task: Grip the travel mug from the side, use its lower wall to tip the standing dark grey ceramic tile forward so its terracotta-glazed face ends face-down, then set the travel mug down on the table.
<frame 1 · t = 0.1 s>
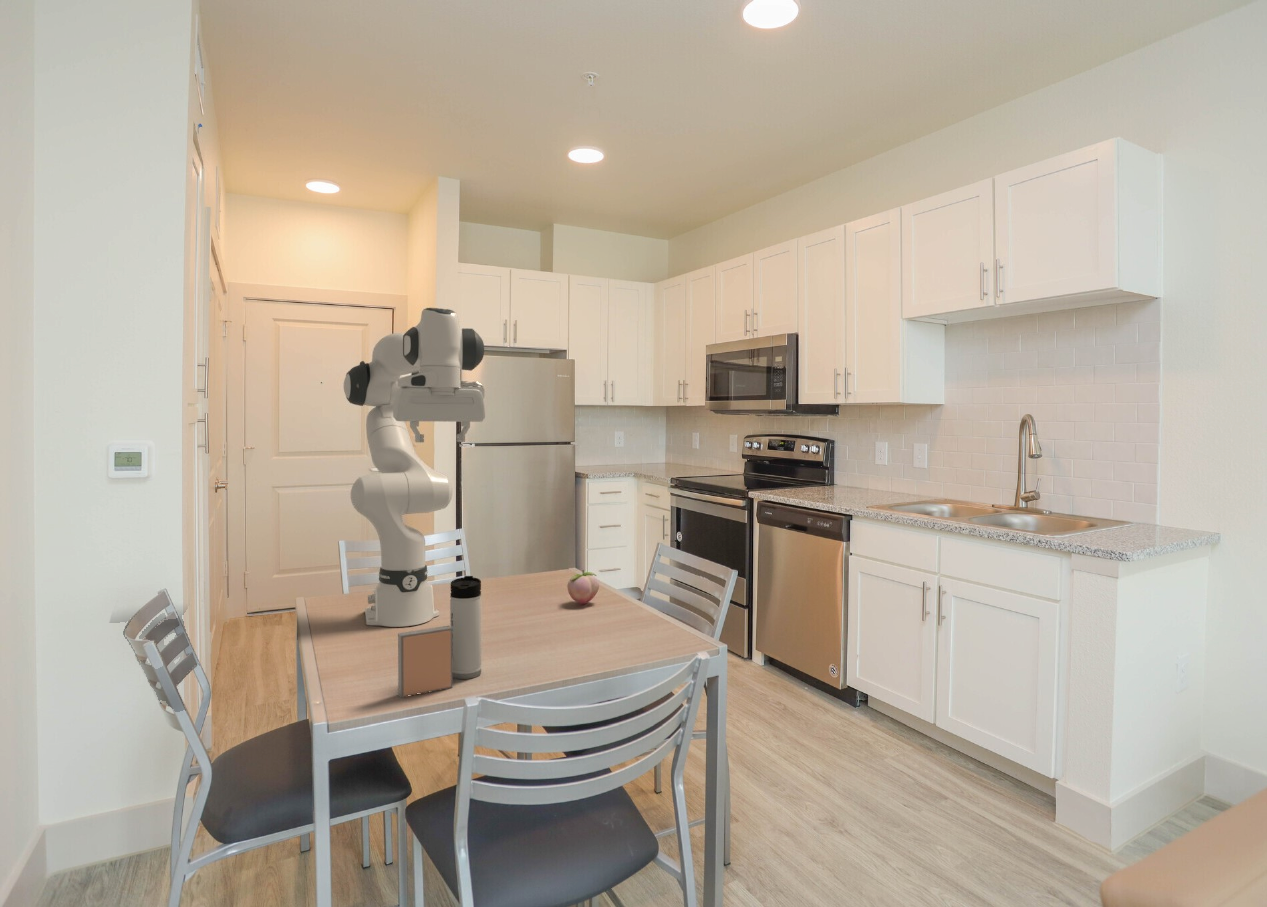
hand: (440, 442, 162), 48 cm above the table, tool pointing down, fingers open, 8 cm apart
travel mug: (466, 674, 151), on the table
decorative fruit: (582, 604, 208), on the table
tile: (425, 691, 141), on the table
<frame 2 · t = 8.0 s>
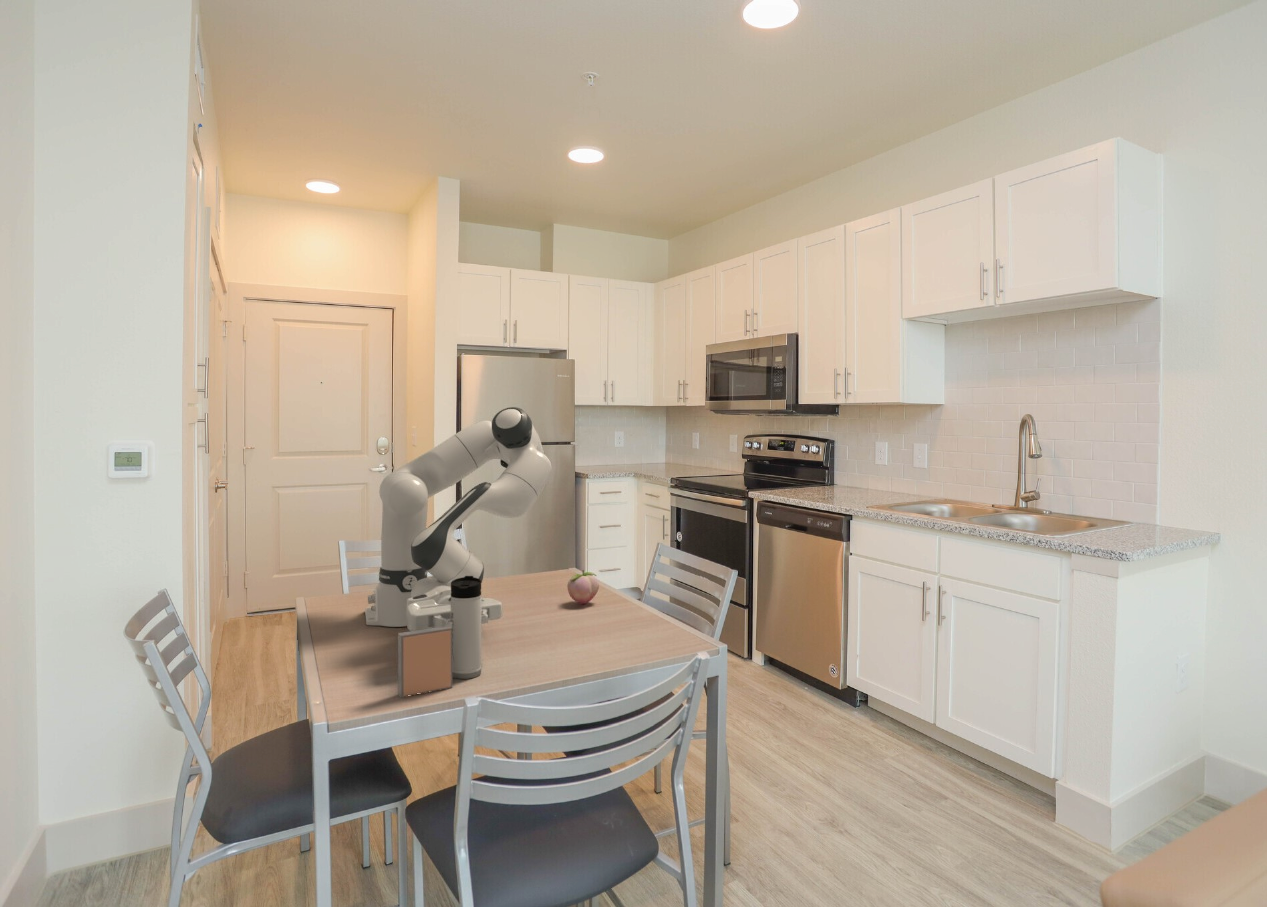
hand: (467, 622, 149), 11 cm above the table, tool horizontal, fingers closed on travel mug, 6 cm apart
travel mug: (466, 674, 151), on the table, touching gripper
everything else where it was.
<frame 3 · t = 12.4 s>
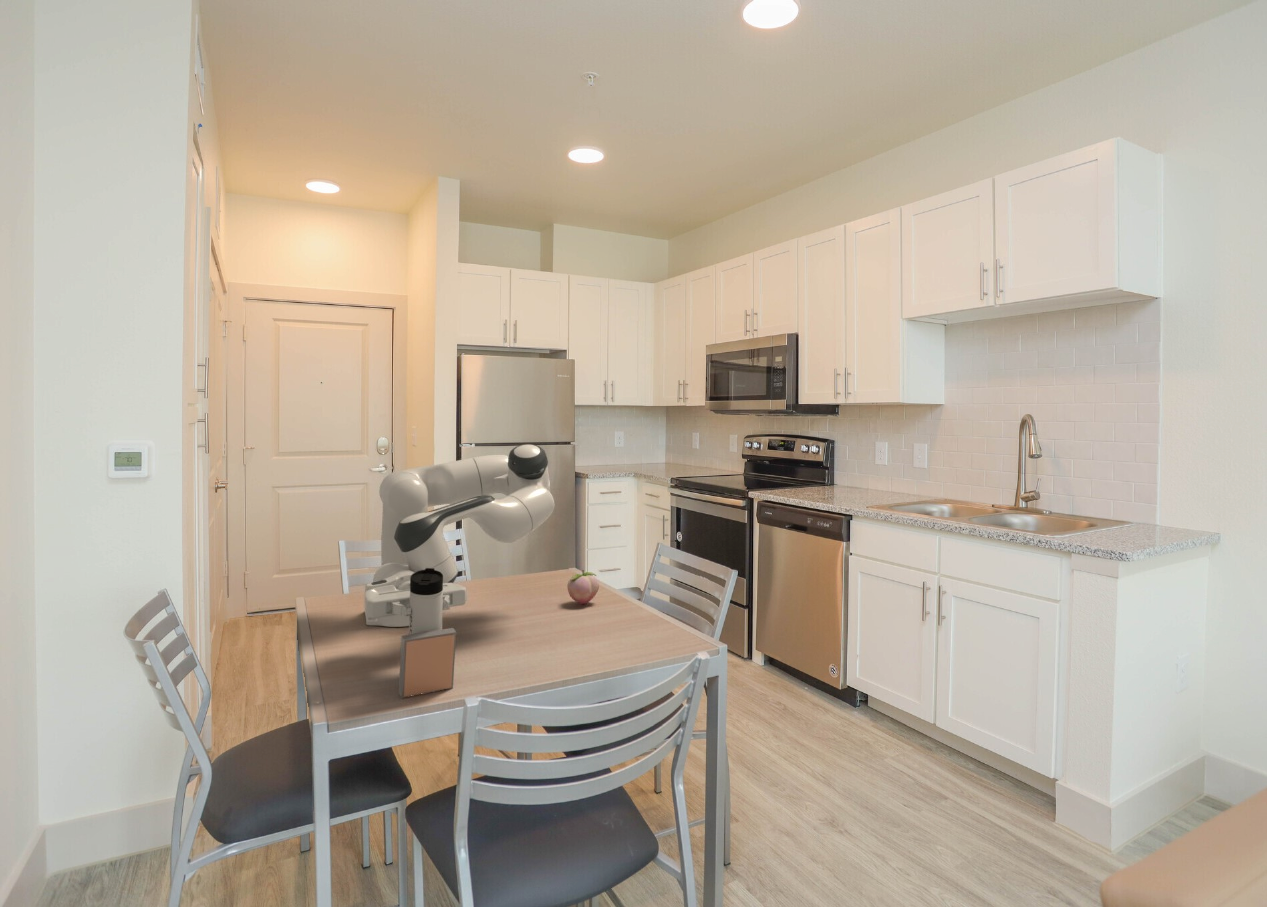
hand: (427, 608, 141), 16 cm above the table, tool horizontal, fingers closed on travel mug, 6 cm apart
travel mug: (425, 669, 144), point 3 cm above the table, touching gripper
tile: (426, 690, 141), on the table, tilted 10°
everything else where it was.
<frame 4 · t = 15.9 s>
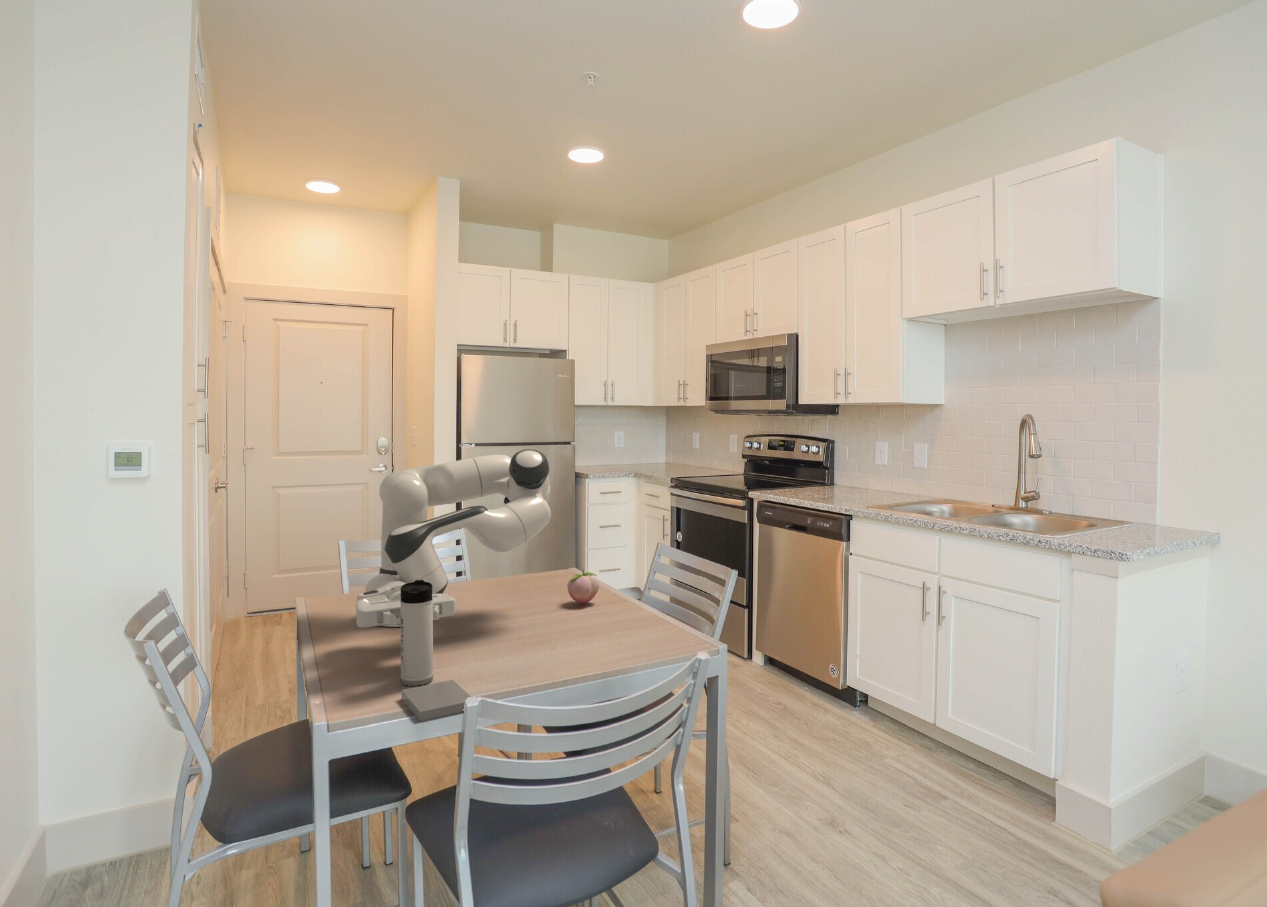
hand: (417, 618, 145), 13 cm above the table, tool horizontal, fingers closed on travel mug, 6 cm apart
travel mug: (417, 681, 146), on the table, touching gripper
tile: (427, 689, 139), point 1 cm above the table, tilted 90°
everything else where it was.
when the fingers open (12 cm above the table, at t = 16.6 s): travel mug stays where it is, on the table.
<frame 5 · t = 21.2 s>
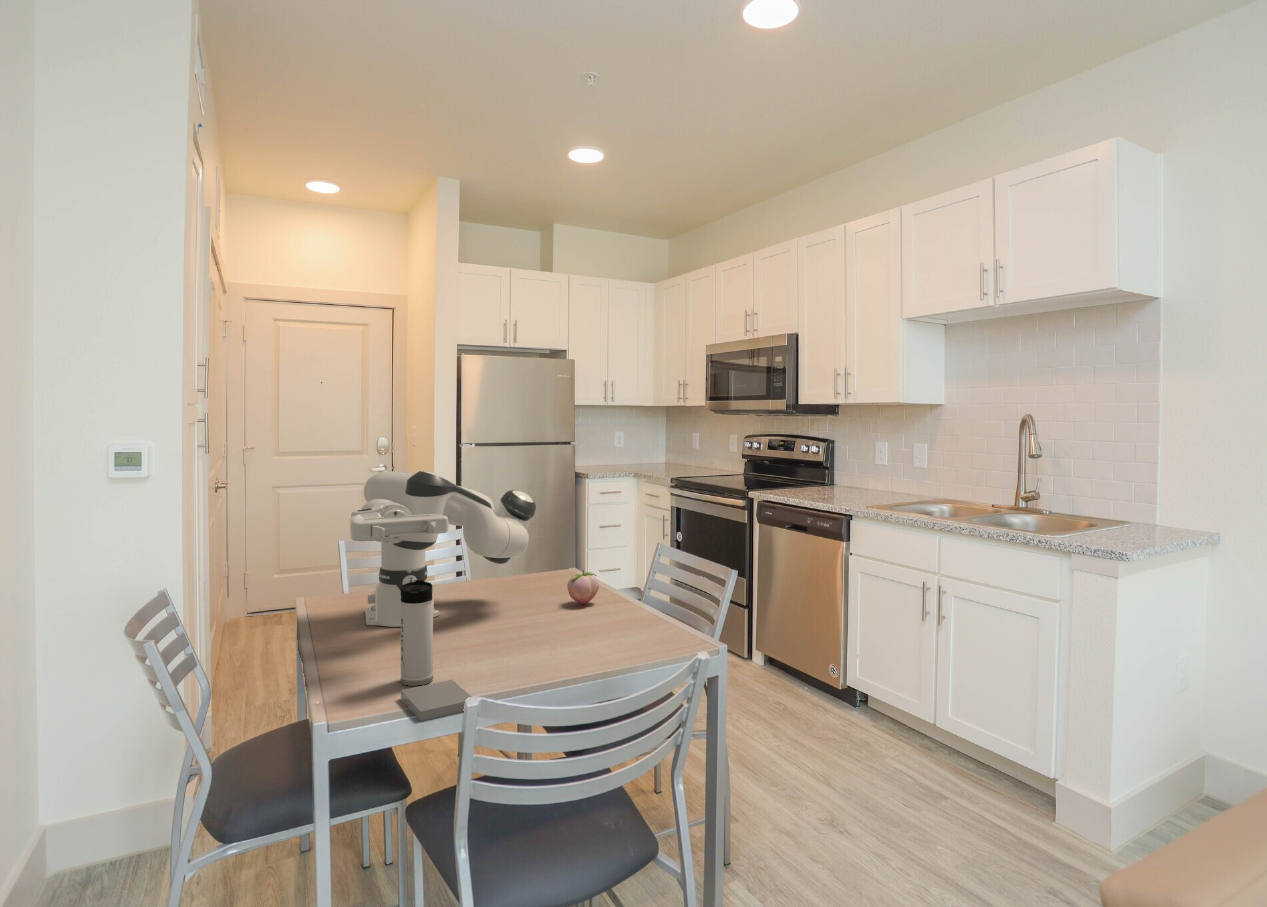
hand: (409, 531, 149), 30 cm above the table, tool horizontal, fingers open, 8 cm apart
travel mug: (417, 681, 146), on the table
everything else where it was.
at the end: tile tilted 90°; tile inside the target area (2.6 cm from its centre), point 0.7 cm above the table; travel mug tilted 0° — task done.
